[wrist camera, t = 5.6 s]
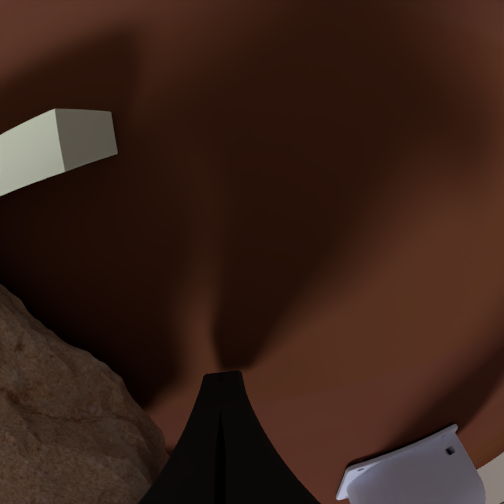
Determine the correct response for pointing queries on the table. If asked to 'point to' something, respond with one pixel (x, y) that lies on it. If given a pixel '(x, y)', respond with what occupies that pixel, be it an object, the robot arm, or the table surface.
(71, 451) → the stone
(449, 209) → the table surface
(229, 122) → the table surface
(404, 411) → the table surface
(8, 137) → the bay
